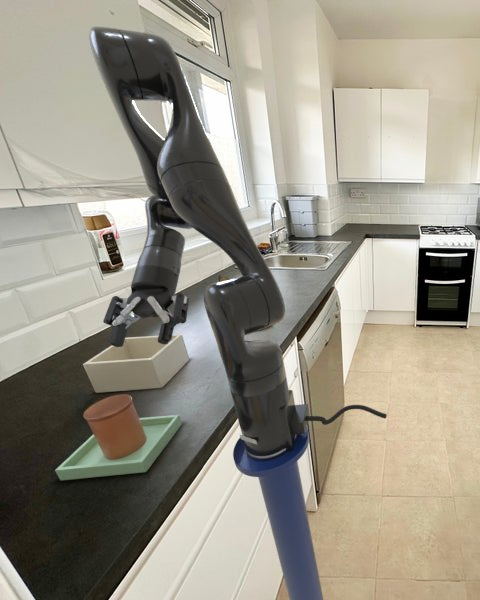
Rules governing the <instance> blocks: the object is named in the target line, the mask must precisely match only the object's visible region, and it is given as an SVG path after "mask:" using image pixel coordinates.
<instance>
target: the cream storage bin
mask: <svg viewBox="0 0 480 600" xmlns="http://www.w3.org/2000/svg"><path fill="white" fill-rule="evenodd" d="M158 337H159V335H147V336H132V337H131V336H130V337H125V340H124V344H123V346H122V347H115V346H112V345H110V346H109V347H107V348H105V349H104V350H103V351H100V352H99V353H98V354H96V355H95V356H93V357H92V358H90V359H88V360H87V361H86V362H84V363H82V366H83V368H84V371H85V373H86V375H87V377H88V379H89V382H90V383H91V386H92V388H93V390H94V392H95V393H96V394H99V393H111V392H113V393H114V392H125V391H138V390H151V389H152V390H153V389H162V388H163V387H164V386H166V384H167V383H168V382H169V381H170V380H171V379H172V378H173V377H174V376H175V375H176V374H177V373H178V372H179V371H180V370H181V369H182V368H183V367H184V366H185V365H186V364H187V363H188V362H189V361H190V356H189V353H188V349H187V346H186V343H185V339H184V335H183V334H182V333H180V334H172V339H171V340H170V341H169V342H168V344H161V343H159V342H158Z"/></svg>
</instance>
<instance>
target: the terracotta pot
mask: <svg viewBox="0 0 480 600" xmlns="http://www.w3.org/2000/svg"><path fill="white" fill-rule="evenodd" d="M82 417H83V418H84V420H85V421H86V422H87V424H88V426H89V428H90V430H91V433H92V435H93V434H94V436H95V438H96V440H97V442H98V444H99V446H100V448H101V451H102V453H103V455H104V457H105V458H106V459H109V460H115V459H120V458H123V457H126V456H128V455H130V454H132V453H134V452H135V451H137V450H138V449H139V448H141V447H142V446H143V445H144V443H145V442H146V439H147V437H146V434H145V432H144V429H143V427H142V424H141V422H140V419H139V418H140V416H139V415H138V412H137V410H136V407H135V405H134V400H133V396H131V395H130V394H125V393H123V394H116V395H115V394H114V395H112V396H109V397H106V398H102V399H101V400H99V401H96V402H94V403H93V404H91V406H90V405H89V407H88V408H86V409H85V410H84V412H83V416H82Z"/></svg>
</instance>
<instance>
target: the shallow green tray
mask: <svg viewBox="0 0 480 600" xmlns="http://www.w3.org/2000/svg"><path fill="white" fill-rule="evenodd" d="M139 419H140V422H141V424H142V427H143V429H144V432H145V434H146V437H147V439H146V442H145V443H144V445H143V446H142V447H141V448H139V449H138V450H137V451H135V452H134V453H132V454H130V455H128V456H126V457H123V458H120V459H115V460H109V459H106V458H105V457H104V455H103V453H102V451H101V448H100V446H99V444H98V442H97V440H96V438H95V436H94V434H93V433H92V435H91V436H89V438H87V440H86V441H85V442H83V443H82V444H81V445H80V446H79V447H78V448H76V449H75V451H74V452H72V453H71V455H70V456H69V457H67V458H66V459H65V460H64V461H63V462H62V463H61V464H60V465H58V467H57V468H55V470H54V472H55V473H56V475H57V477H58V479H59V480H60V481H71V480H81V479H89V478H101V477H111V476H120V475H130V474H138V473H139V474H140V473H141V474H142V473H146V472H148V470H149V469H150V467H152V465H153V464H154V462H155V461H156V460H157V459H158V457H159V456H160V455H161V454H162V452H163V450H165V448H166V446H167V445H168V444H169V442H170V441H171V440H172V438H173V437H174V435H175V434H176V433H177V431H178V430H179V429H180V428H181V426H182V425H183V422H182V418H181V415H180V414H171V415H170V414H169V415H161V416H160V415H159V416H149V417H147V416H146V417H139Z"/></svg>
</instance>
